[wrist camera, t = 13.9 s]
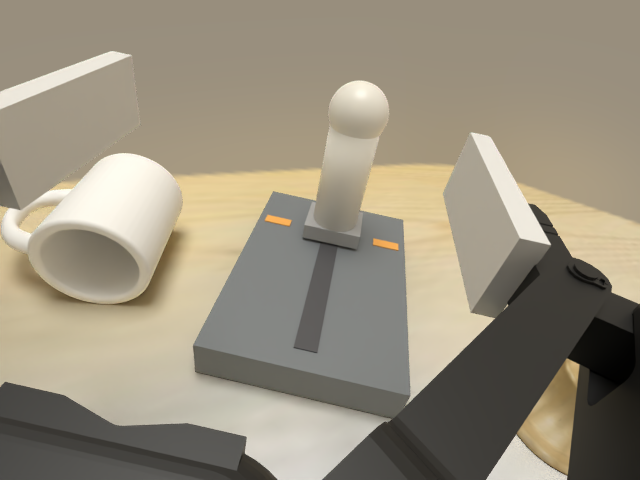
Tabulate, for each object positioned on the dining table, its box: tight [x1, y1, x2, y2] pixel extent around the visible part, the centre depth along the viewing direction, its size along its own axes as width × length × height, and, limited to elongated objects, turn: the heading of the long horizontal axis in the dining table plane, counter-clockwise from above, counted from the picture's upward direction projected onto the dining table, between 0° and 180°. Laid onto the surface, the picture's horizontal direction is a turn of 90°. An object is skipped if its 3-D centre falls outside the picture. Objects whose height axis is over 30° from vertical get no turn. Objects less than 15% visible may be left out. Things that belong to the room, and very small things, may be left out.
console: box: [193, 191, 410, 418], centre depth 32 cm, size 14×20×3 cm
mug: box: [1, 153, 183, 304], centre depth 30 cm, size 12×10×8 cm
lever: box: [302, 81, 389, 249], centre depth 31 cm, size 5×5×14 cm
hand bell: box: [517, 359, 579, 475], centre depth 22 cm, size 8×8×16 cm
